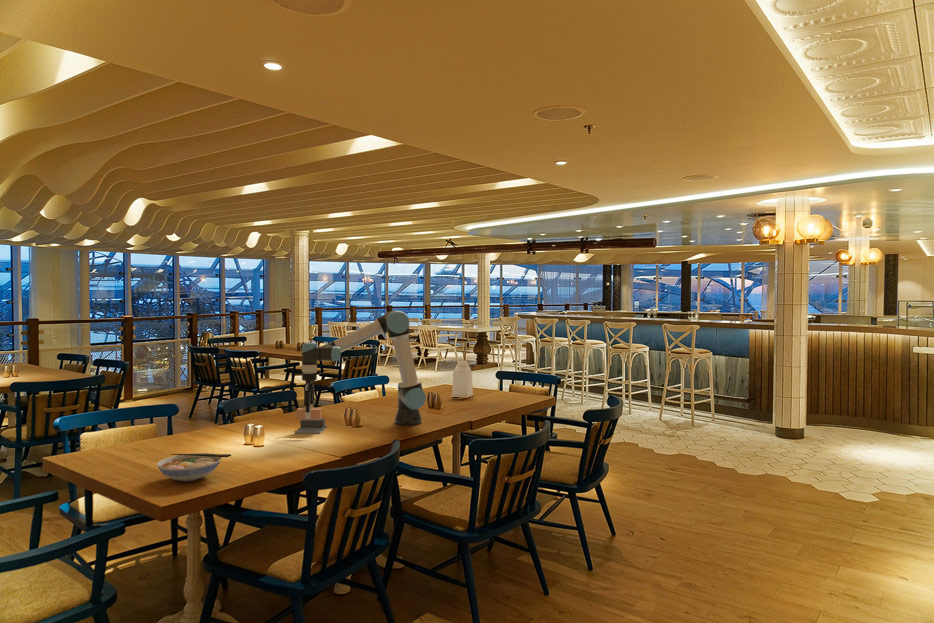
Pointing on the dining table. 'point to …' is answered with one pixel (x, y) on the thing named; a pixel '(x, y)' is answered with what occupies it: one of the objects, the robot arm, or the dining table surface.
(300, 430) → the slot board
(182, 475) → the ramen bowl
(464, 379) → the milk
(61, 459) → the dining table surface
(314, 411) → the terracotta bar
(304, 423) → the charcoal bar
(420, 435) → the dining table surface
